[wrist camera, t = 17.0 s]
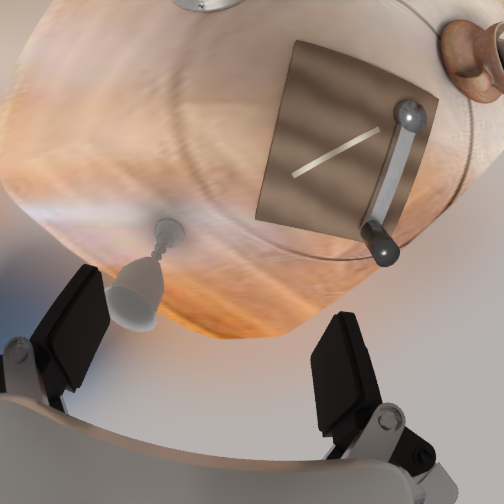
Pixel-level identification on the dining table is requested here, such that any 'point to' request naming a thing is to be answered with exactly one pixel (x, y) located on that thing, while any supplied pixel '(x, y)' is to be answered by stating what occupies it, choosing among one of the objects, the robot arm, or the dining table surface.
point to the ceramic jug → (474, 59)
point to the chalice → (142, 283)
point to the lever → (391, 182)
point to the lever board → (337, 143)
